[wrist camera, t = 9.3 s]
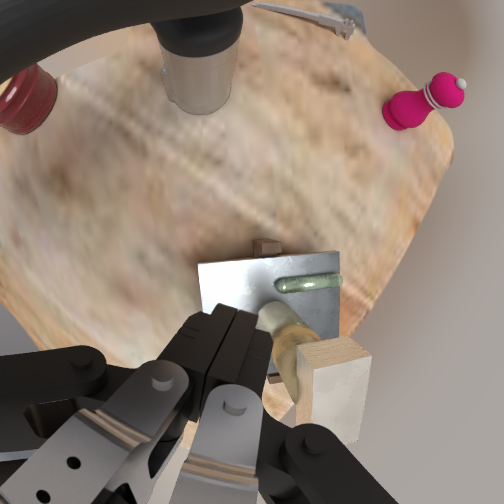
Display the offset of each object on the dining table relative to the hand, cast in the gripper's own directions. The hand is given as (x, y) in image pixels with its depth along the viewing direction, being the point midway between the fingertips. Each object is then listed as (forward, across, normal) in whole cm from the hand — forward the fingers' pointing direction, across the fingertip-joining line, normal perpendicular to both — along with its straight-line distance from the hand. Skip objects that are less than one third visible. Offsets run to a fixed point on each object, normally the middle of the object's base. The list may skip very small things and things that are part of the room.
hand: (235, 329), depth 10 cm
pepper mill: (+47, +16, +22) cm, 54 cm away
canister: (+25, -50, +11) cm, 57 cm away
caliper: (+45, -6, +37) cm, 59 cm away
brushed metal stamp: (+24, +2, -13) cm, 28 cm away
